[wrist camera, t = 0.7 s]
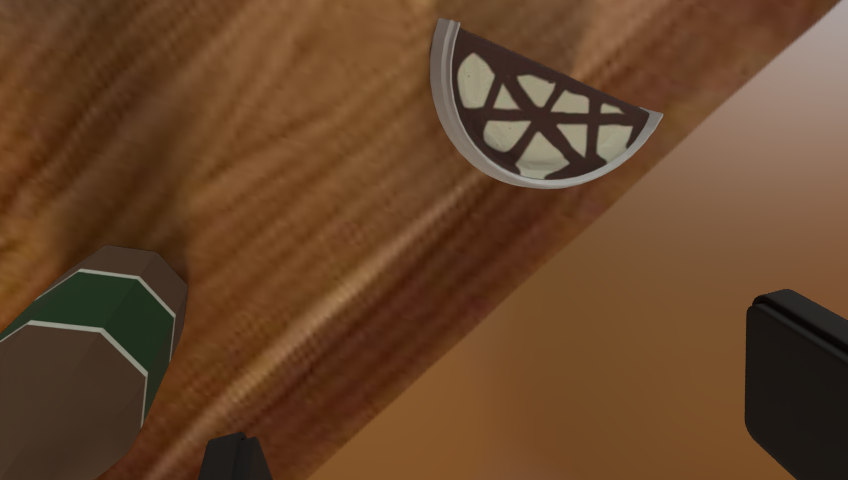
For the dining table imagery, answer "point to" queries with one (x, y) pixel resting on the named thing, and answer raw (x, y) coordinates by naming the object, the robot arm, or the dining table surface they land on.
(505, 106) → the food container
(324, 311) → the dining table surface
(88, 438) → the beer bottle
